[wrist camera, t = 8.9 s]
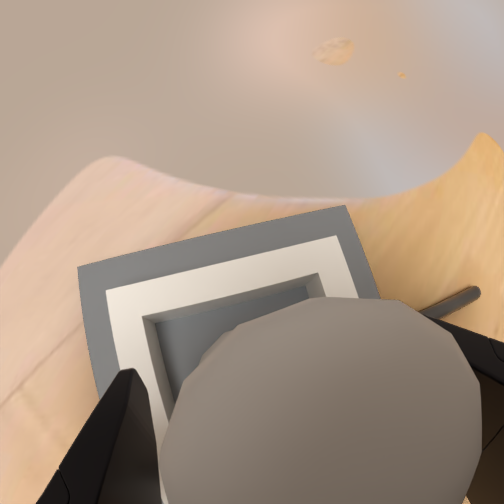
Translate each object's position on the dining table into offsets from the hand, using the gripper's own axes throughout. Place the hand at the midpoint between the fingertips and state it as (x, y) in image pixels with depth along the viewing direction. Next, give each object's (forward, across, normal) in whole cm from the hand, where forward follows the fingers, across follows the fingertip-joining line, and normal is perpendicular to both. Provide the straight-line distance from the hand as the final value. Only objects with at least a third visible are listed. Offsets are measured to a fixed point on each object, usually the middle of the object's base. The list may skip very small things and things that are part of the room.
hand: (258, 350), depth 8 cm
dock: (+5, -4, +7) cm, 10 cm away
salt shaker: (+4, 0, +7) cm, 8 cm away
